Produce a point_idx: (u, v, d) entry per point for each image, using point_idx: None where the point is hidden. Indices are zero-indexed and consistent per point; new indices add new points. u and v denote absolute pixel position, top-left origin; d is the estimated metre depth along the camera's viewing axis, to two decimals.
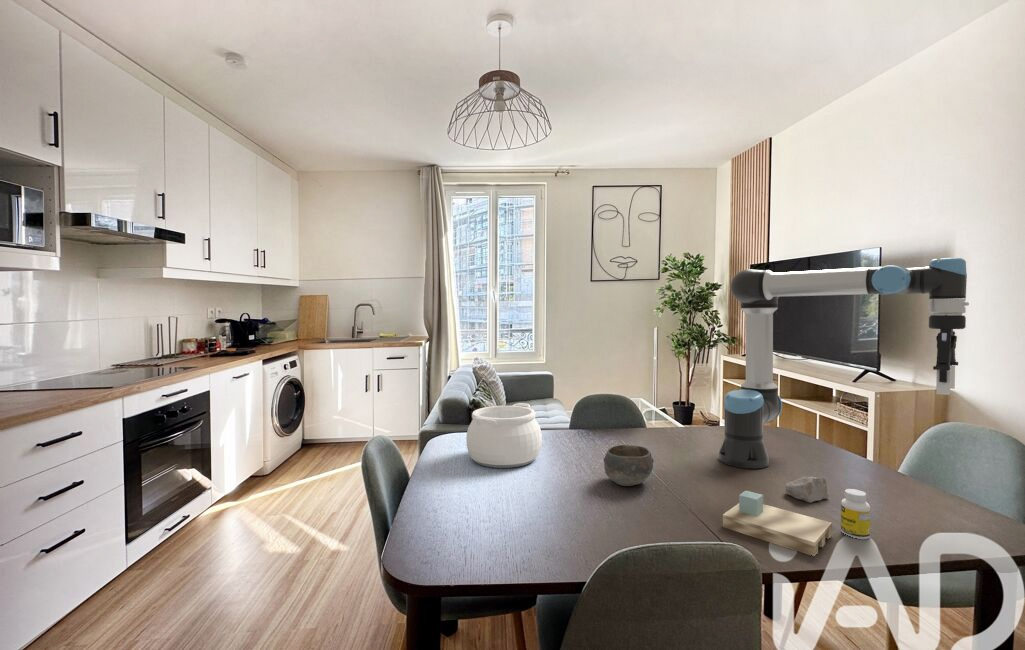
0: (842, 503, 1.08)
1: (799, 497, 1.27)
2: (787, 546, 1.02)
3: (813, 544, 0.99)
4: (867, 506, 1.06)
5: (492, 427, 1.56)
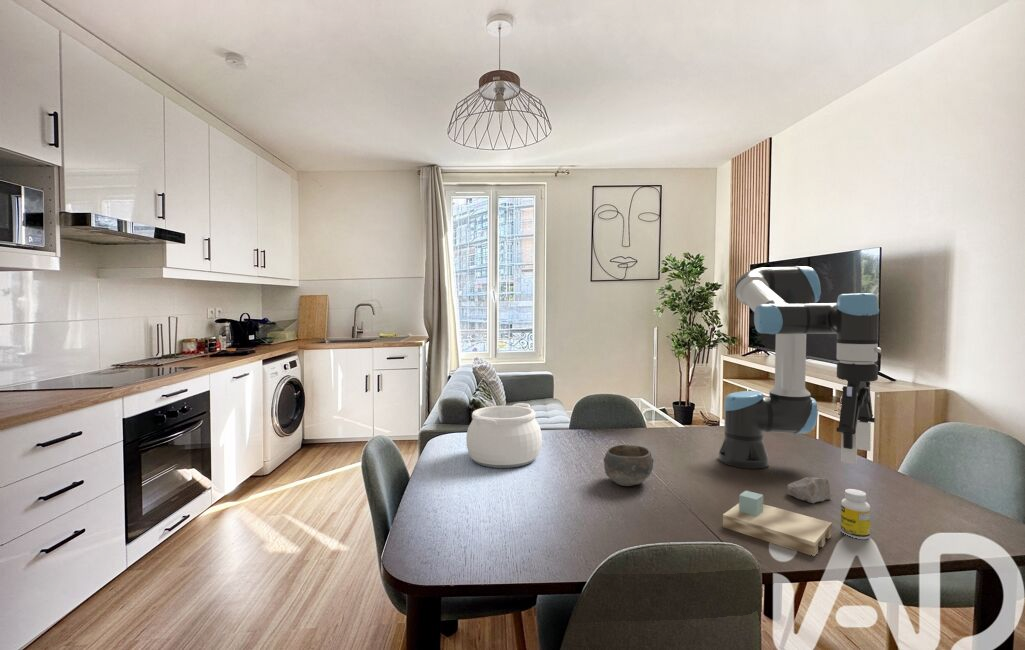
0: (842, 503, 1.08)
1: (802, 498, 1.26)
2: (787, 546, 1.02)
3: (813, 544, 0.99)
4: (867, 506, 1.06)
5: (492, 427, 1.56)
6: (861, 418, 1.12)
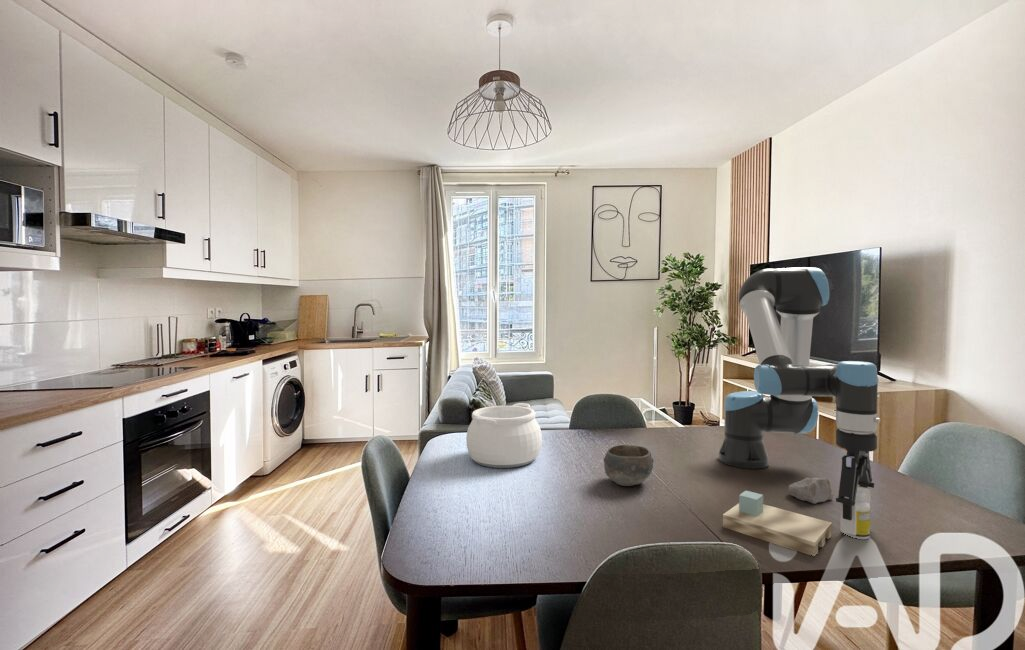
0: None
1: (803, 498, 1.26)
2: (787, 546, 1.02)
3: (813, 544, 0.99)
4: (867, 506, 1.06)
5: (492, 427, 1.56)
6: (860, 483, 1.13)
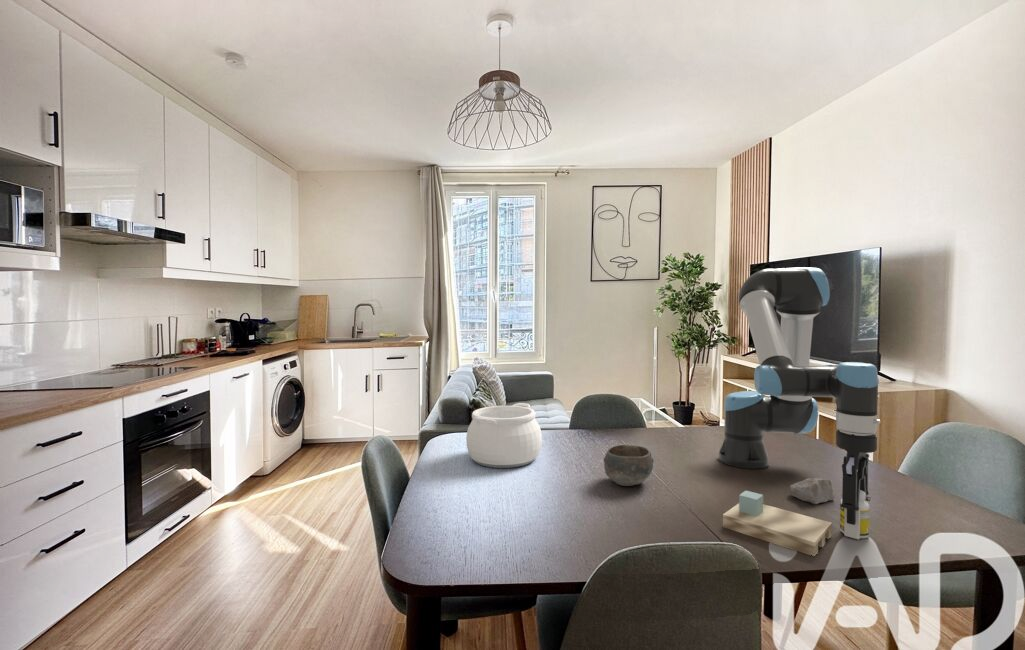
0: (841, 502, 1.09)
1: (804, 499, 1.26)
2: (787, 546, 1.02)
3: (813, 544, 0.99)
4: (866, 505, 1.06)
5: (492, 427, 1.56)
6: None
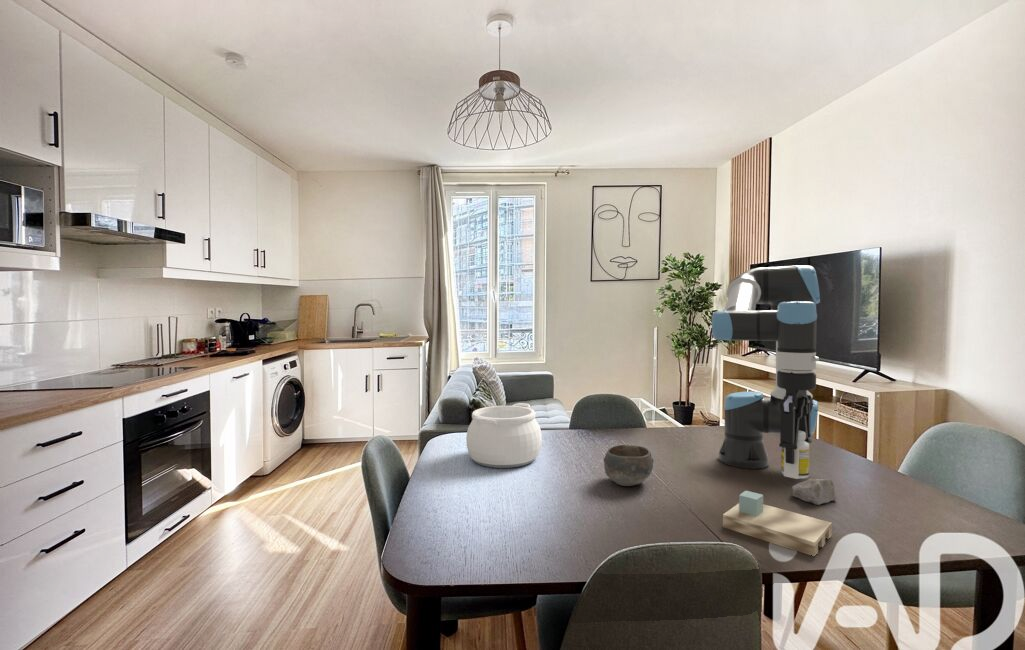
0: None
1: (807, 499, 1.25)
2: (787, 546, 1.02)
3: (813, 544, 0.99)
4: (806, 445, 1.04)
5: (492, 427, 1.56)
6: None
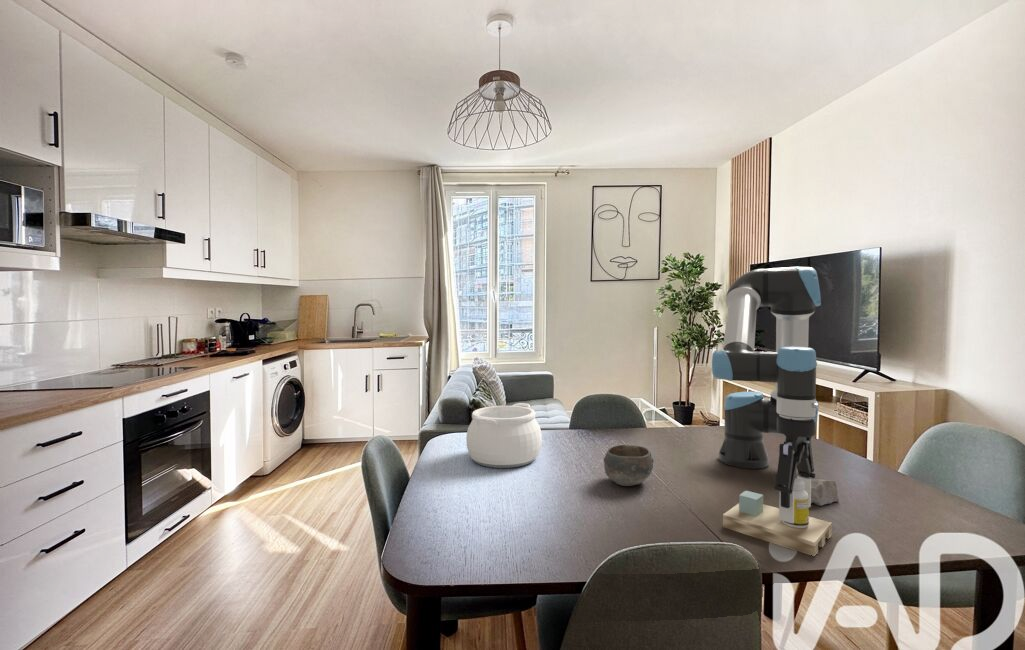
0: None
1: None
2: (787, 546, 1.02)
3: (813, 544, 0.99)
4: (805, 494, 1.05)
5: (492, 427, 1.56)
6: (802, 473, 1.11)
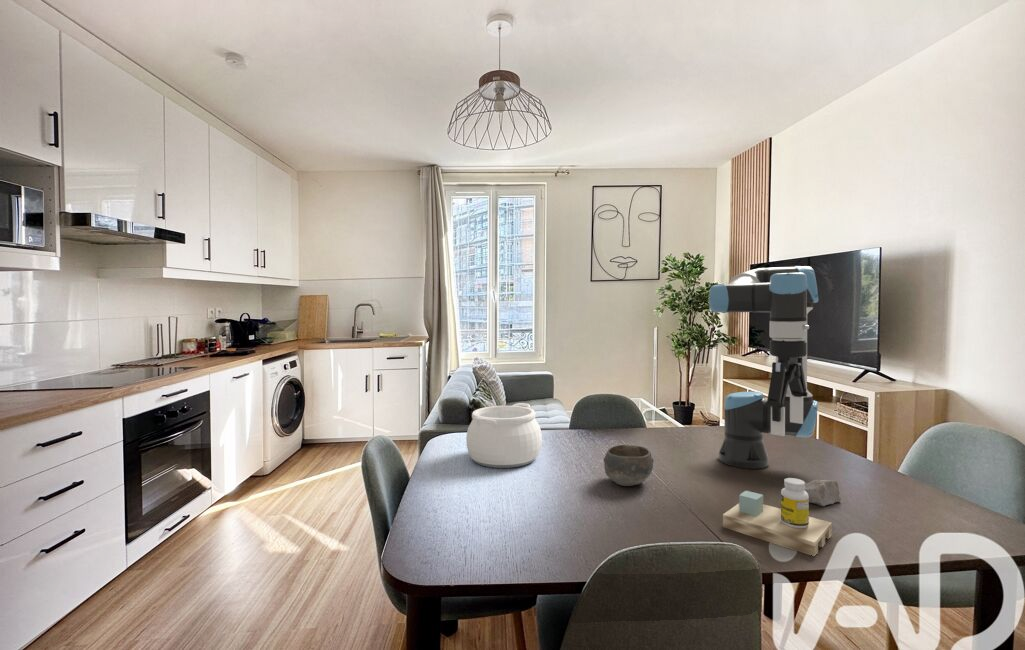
0: (781, 492, 1.08)
1: (812, 501, 1.25)
2: (787, 546, 1.02)
3: (813, 544, 0.99)
4: (805, 495, 1.05)
5: (492, 427, 1.56)
6: (795, 393, 1.17)
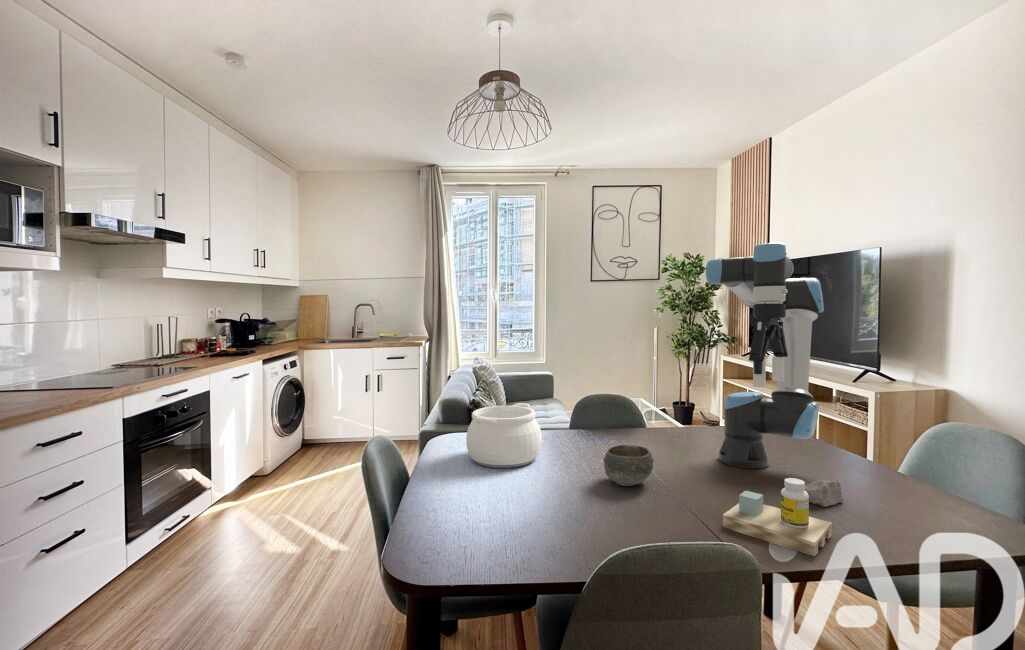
0: (781, 492, 1.08)
1: (814, 501, 1.24)
2: (787, 546, 1.02)
3: (813, 544, 0.99)
4: (805, 495, 1.05)
5: (492, 427, 1.56)
6: (776, 354, 1.30)
